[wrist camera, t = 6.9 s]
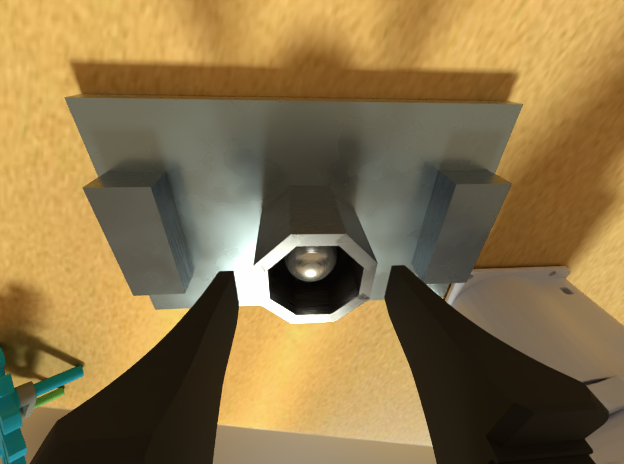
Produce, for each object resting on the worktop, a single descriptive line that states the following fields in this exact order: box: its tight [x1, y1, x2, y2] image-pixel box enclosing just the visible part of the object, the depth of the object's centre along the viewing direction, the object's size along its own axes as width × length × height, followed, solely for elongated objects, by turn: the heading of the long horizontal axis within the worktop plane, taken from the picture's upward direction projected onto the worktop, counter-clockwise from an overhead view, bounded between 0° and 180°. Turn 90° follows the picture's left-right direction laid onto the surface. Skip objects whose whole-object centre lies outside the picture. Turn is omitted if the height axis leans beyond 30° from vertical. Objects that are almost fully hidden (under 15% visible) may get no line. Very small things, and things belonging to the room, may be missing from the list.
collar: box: [253, 185, 378, 324], centre depth 15 cm, size 6×6×5 cm
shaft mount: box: [64, 94, 523, 310], centre depth 16 cm, size 22×14×6 cm, turn 89°
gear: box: [0, 348, 84, 464], centre depth 23 cm, size 11×6×10 cm
